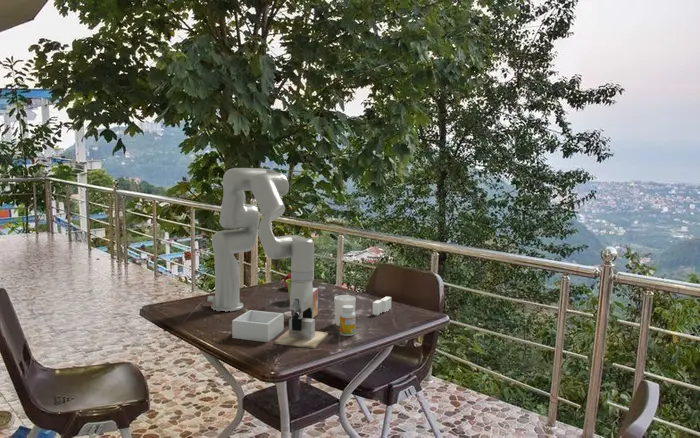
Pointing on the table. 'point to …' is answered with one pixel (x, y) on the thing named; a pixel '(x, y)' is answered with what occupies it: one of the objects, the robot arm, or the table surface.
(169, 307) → the table surface
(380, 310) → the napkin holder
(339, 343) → the table surface
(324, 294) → the table surface
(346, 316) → the supplement bottle
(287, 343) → the cover plate
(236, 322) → the shallow square tray
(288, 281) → the plant pot
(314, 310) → the small box
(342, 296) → the white cup
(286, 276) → the pomegranate
